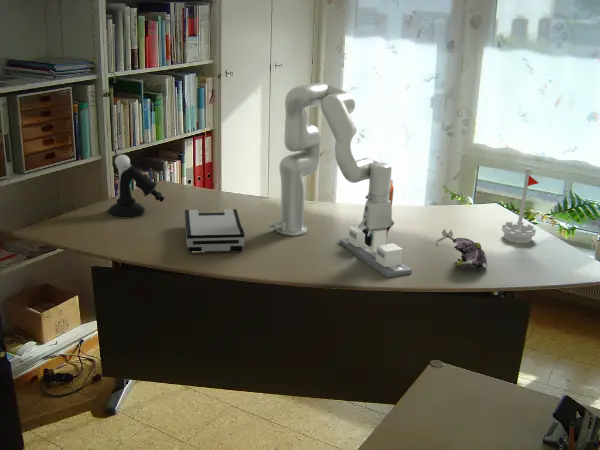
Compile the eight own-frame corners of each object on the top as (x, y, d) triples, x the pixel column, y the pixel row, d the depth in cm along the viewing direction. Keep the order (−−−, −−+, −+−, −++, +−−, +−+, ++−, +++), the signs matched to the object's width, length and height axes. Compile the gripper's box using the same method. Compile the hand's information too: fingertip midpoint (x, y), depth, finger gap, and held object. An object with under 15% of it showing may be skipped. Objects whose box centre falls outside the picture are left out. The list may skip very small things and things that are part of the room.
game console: (236, 225, 285) (236, 206, 282) (244, 254, 255) (244, 234, 253) (185, 226, 281) (184, 207, 278) (187, 256, 252) (186, 235, 249)
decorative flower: (492, 253, 240) (454, 232, 245) (476, 282, 243) (439, 261, 248) (497, 250, 254) (461, 231, 259) (482, 278, 256) (446, 258, 261)
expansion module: (372, 252, 253) (374, 231, 250) (364, 246, 258) (365, 226, 255) (384, 250, 255) (386, 230, 252) (376, 244, 260) (377, 224, 257)
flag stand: (495, 238, 283) (505, 167, 272) (510, 230, 292) (520, 161, 282) (524, 247, 274) (536, 174, 264) (539, 239, 284) (551, 168, 273)
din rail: (394, 271, 242) (395, 270, 242) (347, 238, 271) (347, 237, 270) (403, 270, 243) (403, 269, 243) (355, 237, 272) (355, 236, 272)
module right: (383, 267, 244) (385, 251, 242) (375, 261, 249) (376, 245, 247) (401, 264, 247) (402, 249, 245) (392, 258, 252) (393, 243, 250)
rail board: (387, 277, 241) (387, 273, 240) (339, 242, 270) (339, 239, 270) (411, 273, 245) (411, 269, 244) (361, 239, 274) (361, 236, 274)
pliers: (437, 246, 270) (428, 228, 288) (437, 248, 270) (427, 230, 289) (462, 247, 270) (451, 229, 289) (462, 249, 270) (450, 231, 289)
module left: (355, 247, 261) (356, 232, 259) (347, 242, 266) (348, 227, 264) (372, 245, 264) (373, 230, 262) (364, 239, 269) (365, 225, 267)
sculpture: (111, 206, 300) (108, 149, 291) (166, 207, 302) (165, 151, 293) (105, 217, 286) (101, 159, 277) (163, 218, 288) (161, 160, 279)
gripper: (363, 202, 243) (359, 250, 249) (404, 198, 250) (399, 244, 256) (352, 196, 249) (349, 243, 255) (392, 192, 256) (388, 237, 262)
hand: (374, 243), depth 256 cm, fingers closed on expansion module, 5 cm apart
